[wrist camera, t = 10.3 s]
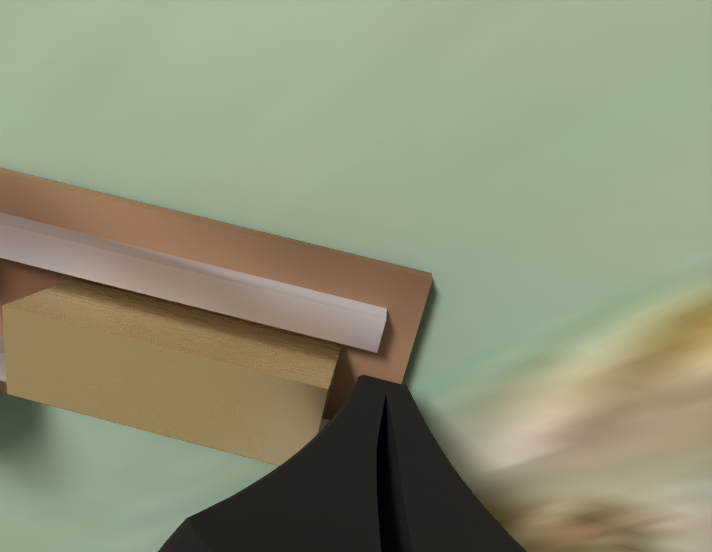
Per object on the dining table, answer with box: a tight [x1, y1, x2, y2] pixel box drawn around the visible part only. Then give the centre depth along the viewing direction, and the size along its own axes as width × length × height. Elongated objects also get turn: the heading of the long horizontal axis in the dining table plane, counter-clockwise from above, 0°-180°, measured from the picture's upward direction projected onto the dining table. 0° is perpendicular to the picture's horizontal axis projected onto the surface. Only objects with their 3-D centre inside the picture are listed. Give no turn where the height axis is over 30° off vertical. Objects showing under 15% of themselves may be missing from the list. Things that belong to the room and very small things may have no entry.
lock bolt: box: [2, 277, 342, 466], centre depth 11 cm, size 2×8×2 cm, turn 77°
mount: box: [0, 168, 433, 466], centre depth 11 cm, size 8×21×3 cm, turn 77°
